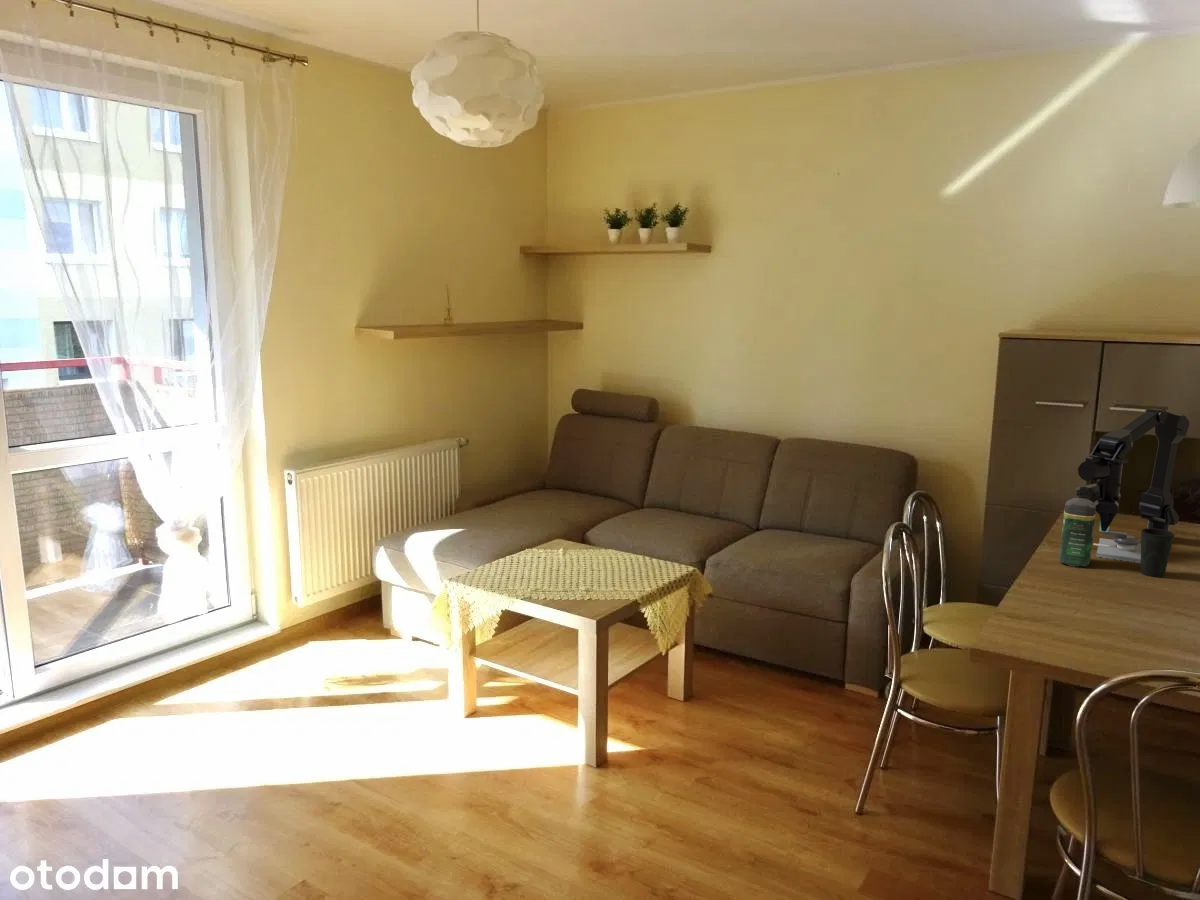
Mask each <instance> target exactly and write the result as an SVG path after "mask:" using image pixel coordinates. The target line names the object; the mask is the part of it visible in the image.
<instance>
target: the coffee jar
mask: <svg viewBox="0 0 1200 900" xmlns="http://www.w3.org/2000/svg"><path fill="white" fill-rule="evenodd" d="M1096 513H1097V512H1096V505H1095V503H1094V502H1093V501H1092V500H1090V498H1084V499H1083V498H1078V497H1073V498H1071V499H1068V500H1067V501H1066V502H1065V504H1064V512H1063V520H1062V521H1063V522H1062V529H1061V530H1062V531H1061V537H1060V538H1061V539H1060V547H1059V556H1058V560H1059V562H1060V563H1062V564H1065V565H1068V566H1069V567H1075V566H1076V567H1088V566H1089V564H1090V562H1091V556H1092V555H1091V554H1092V548H1093V541H1094V533H1095V532H1094V531H1095V527H1096V526H1095V523H1096V516H1097V515H1096Z"/></svg>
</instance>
